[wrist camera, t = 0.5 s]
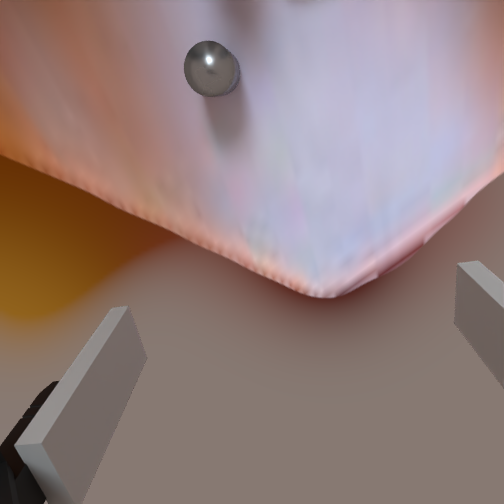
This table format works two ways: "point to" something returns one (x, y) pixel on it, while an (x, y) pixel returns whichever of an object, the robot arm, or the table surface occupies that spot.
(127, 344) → the robot arm
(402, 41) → the table surface
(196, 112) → the table surface
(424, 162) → the table surface
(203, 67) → the cylinder
